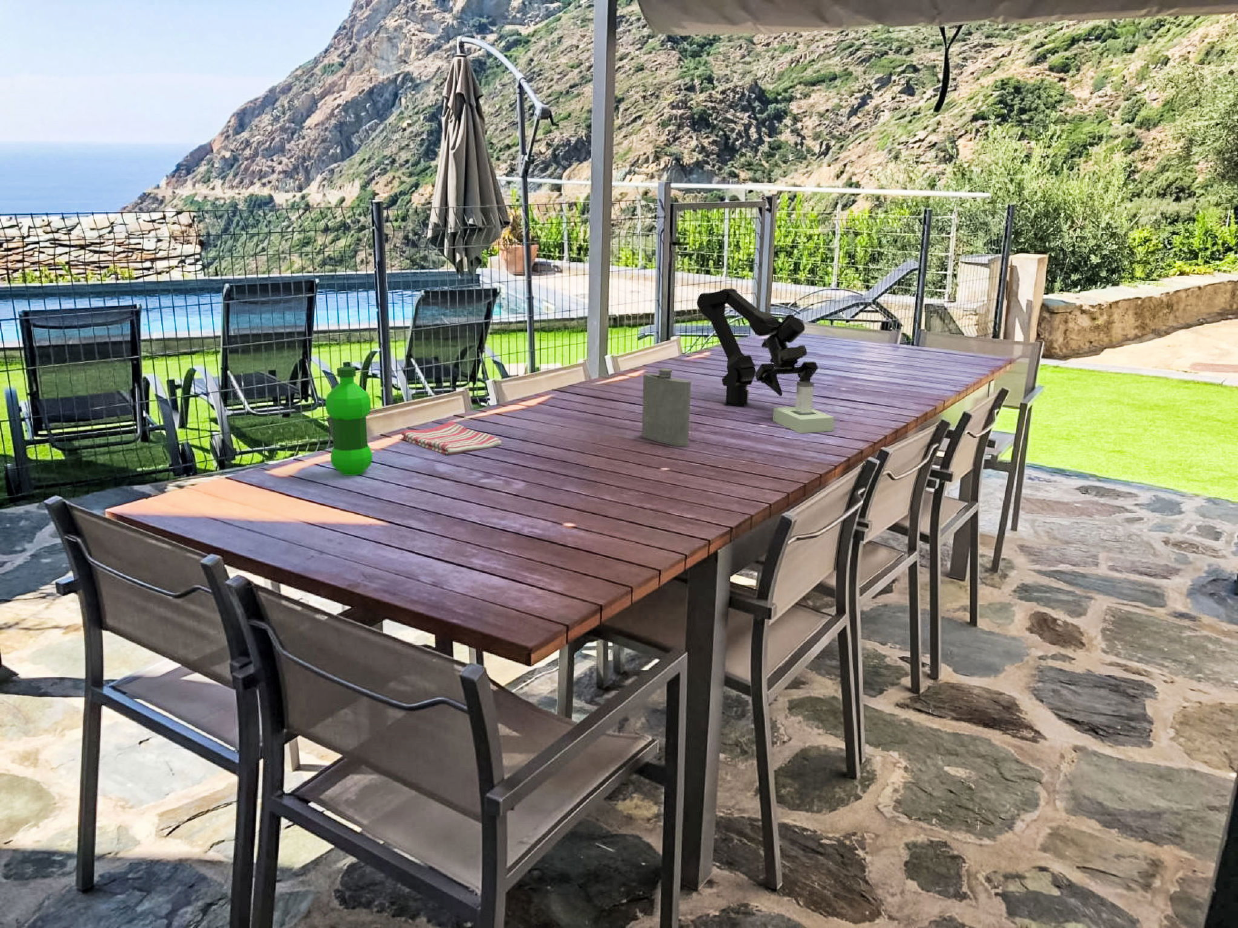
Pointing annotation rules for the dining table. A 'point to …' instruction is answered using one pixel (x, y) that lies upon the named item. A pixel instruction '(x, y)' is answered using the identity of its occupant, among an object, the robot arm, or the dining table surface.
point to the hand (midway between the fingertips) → (794, 394)
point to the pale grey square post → (804, 398)
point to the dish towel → (450, 439)
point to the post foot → (803, 420)
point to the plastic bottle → (349, 424)
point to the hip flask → (666, 408)
